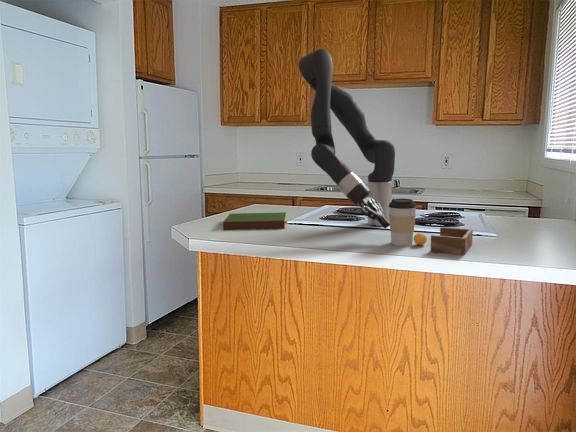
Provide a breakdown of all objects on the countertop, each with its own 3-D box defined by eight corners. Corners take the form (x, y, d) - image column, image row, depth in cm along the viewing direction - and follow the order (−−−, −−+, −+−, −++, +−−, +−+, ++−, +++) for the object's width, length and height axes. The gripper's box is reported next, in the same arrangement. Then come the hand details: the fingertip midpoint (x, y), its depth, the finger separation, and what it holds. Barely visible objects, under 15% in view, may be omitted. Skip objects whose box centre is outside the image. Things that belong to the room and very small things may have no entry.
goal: (440, 241, 157) (440, 227, 156) (472, 244, 152) (472, 229, 151) (430, 251, 145) (431, 235, 144) (464, 255, 140) (465, 238, 139)
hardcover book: (223, 231, 185) (222, 221, 185) (230, 222, 204) (230, 213, 203) (286, 229, 184) (286, 220, 184) (288, 220, 203) (287, 212, 202)
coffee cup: (416, 240, 159) (417, 197, 156) (415, 247, 150) (416, 201, 148) (389, 239, 162) (389, 196, 159) (386, 246, 153) (387, 200, 151)
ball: (413, 238, 156) (419, 229, 154) (424, 245, 155) (430, 235, 153) (410, 242, 153) (416, 232, 151) (420, 249, 152) (427, 239, 150)
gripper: (353, 183, 154) (389, 222, 150) (368, 179, 165) (401, 216, 161) (339, 198, 158) (373, 237, 154) (354, 193, 169) (386, 229, 165)
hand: (387, 226), depth 158 cm, fingers closed
